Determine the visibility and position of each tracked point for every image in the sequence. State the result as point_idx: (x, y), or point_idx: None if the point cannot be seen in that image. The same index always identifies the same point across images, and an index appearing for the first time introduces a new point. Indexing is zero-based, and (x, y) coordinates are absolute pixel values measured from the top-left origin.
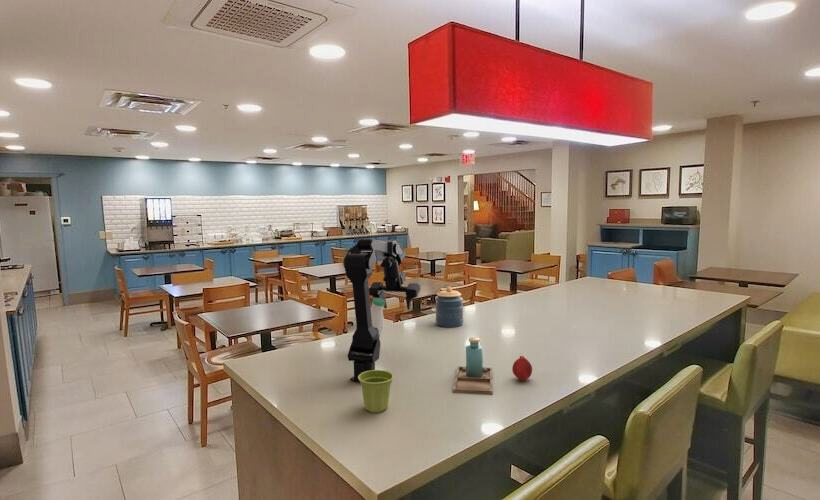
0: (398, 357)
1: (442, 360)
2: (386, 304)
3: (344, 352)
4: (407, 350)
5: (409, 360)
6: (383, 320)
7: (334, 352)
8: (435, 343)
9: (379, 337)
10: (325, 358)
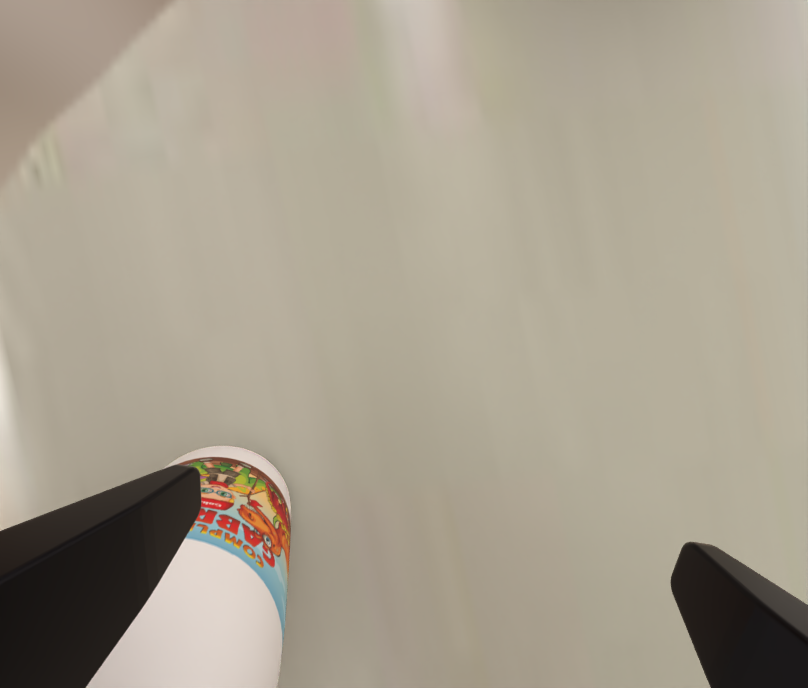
0: (463, 606)
1: None
2: (153, 502)
3: None
4: (491, 451)
5: (547, 662)
6: (268, 685)
7: None
8: (647, 277)
9: (288, 559)
10: None
